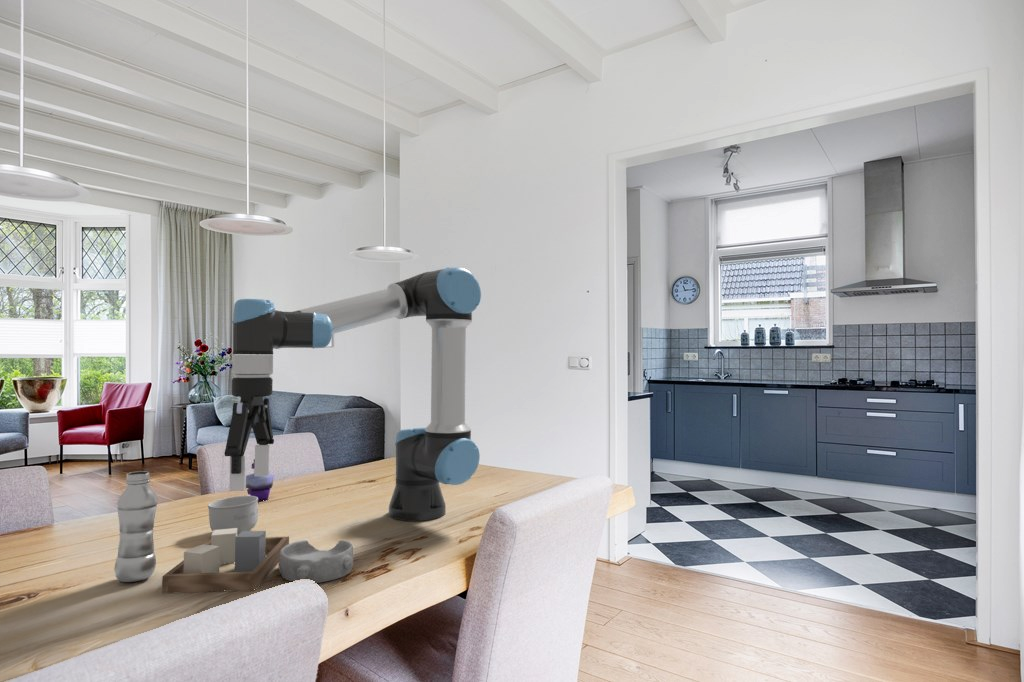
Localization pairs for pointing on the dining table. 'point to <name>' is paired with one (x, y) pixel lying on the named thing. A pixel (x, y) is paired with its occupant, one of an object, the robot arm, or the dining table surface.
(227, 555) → the white block
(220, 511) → the teacup
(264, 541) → the gray block
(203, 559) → the white block
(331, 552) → the dish
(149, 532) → the plastic bottle
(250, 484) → the potion bottle
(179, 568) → the parts tray
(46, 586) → the dining table surface
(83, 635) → the dining table surface
